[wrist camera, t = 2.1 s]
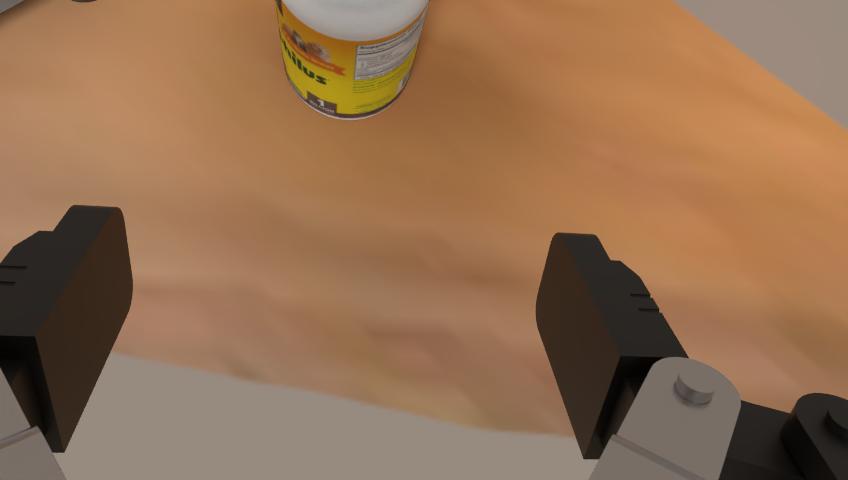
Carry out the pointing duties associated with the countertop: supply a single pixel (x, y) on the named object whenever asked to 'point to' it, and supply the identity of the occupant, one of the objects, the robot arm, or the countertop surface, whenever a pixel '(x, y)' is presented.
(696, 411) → the robot arm
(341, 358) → the countertop surface
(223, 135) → the countertop surface
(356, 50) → the supplement bottle
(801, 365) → the countertop surface
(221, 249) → the countertop surface
